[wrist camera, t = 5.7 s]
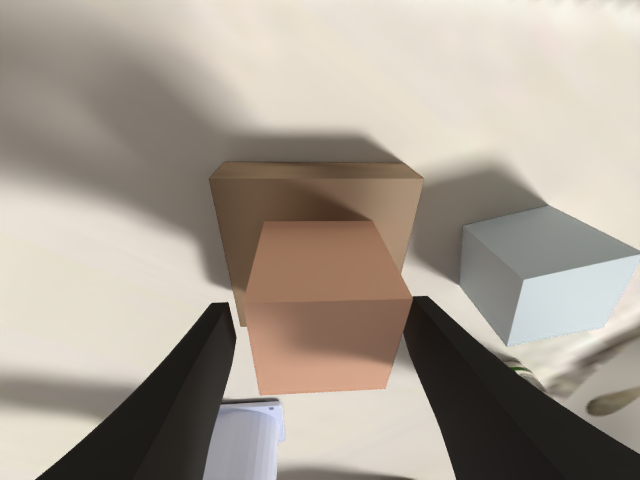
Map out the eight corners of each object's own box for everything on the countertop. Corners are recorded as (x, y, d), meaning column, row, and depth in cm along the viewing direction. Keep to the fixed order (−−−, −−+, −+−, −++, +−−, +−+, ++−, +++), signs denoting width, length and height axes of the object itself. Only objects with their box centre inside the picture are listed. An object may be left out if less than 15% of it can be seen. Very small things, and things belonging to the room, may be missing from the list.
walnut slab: (247, 296, 17) (240, 326, 15) (224, 161, 12) (208, 178, 10) (378, 292, 18) (389, 321, 16) (404, 162, 13) (424, 178, 11)
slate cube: (458, 284, 18) (506, 346, 14) (462, 225, 15) (523, 279, 11) (530, 268, 18) (603, 327, 13) (547, 204, 15) (644, 253, 11)
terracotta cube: (271, 301, 14) (259, 395, 10) (264, 221, 11) (242, 303, 7) (360, 298, 14) (385, 388, 10) (372, 220, 12) (413, 298, 8)
